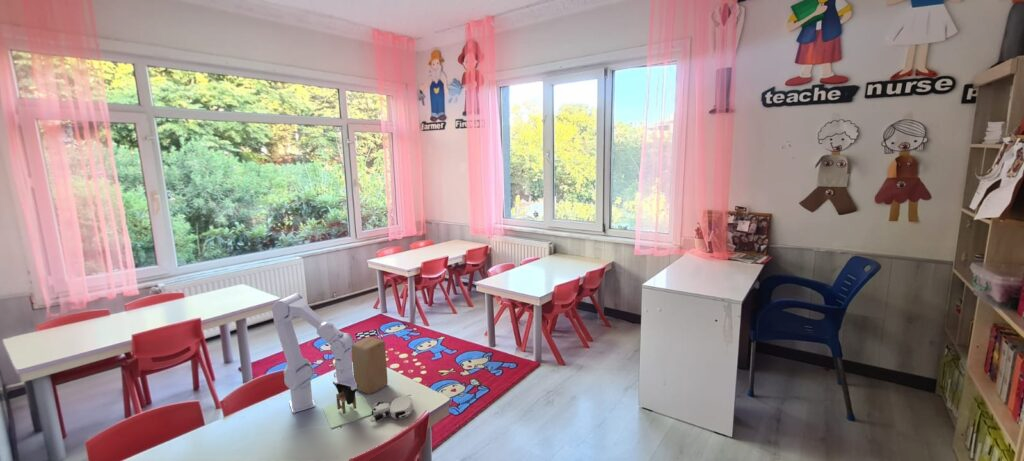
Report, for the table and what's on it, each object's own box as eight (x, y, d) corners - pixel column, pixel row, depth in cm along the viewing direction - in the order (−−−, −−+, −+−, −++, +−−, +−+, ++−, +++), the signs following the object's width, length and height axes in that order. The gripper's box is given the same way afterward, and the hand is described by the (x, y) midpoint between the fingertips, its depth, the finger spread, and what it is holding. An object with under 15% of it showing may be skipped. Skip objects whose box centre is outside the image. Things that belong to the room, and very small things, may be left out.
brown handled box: (337, 408, 159) (336, 394, 158) (350, 403, 163) (348, 388, 162) (343, 414, 156) (342, 399, 155) (356, 408, 159) (355, 393, 158)
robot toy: (370, 429, 150) (412, 421, 153) (368, 418, 150) (411, 410, 152) (374, 409, 162) (414, 402, 165) (373, 399, 162) (412, 392, 164)
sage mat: (322, 408, 162) (322, 407, 162) (362, 396, 170) (362, 395, 170) (331, 428, 149) (331, 427, 149) (373, 414, 158) (373, 413, 158)
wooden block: (388, 384, 178) (385, 340, 175) (369, 396, 170) (366, 349, 167) (372, 378, 184) (369, 335, 180) (353, 389, 175) (350, 344, 172)
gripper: (324, 364, 159) (327, 397, 161) (342, 377, 149) (345, 412, 151) (342, 358, 164) (345, 390, 166) (361, 370, 154) (363, 404, 156)
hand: (346, 400), depth 159 cm, fingers closed on brown handled box, 5 cm apart
